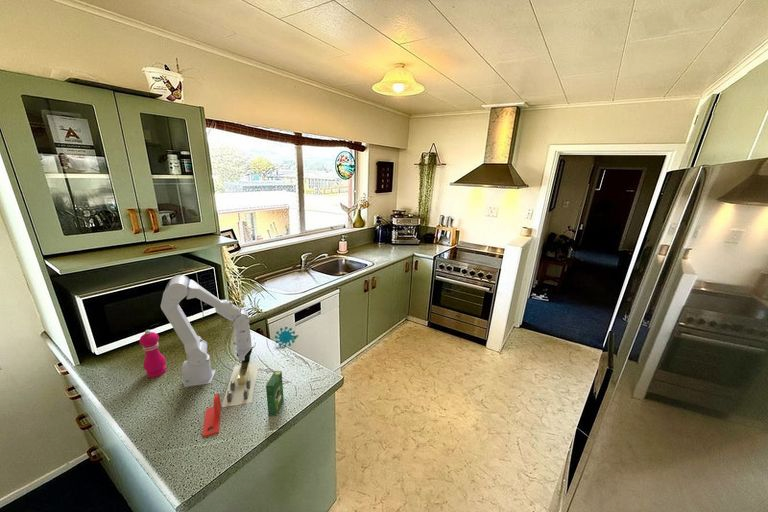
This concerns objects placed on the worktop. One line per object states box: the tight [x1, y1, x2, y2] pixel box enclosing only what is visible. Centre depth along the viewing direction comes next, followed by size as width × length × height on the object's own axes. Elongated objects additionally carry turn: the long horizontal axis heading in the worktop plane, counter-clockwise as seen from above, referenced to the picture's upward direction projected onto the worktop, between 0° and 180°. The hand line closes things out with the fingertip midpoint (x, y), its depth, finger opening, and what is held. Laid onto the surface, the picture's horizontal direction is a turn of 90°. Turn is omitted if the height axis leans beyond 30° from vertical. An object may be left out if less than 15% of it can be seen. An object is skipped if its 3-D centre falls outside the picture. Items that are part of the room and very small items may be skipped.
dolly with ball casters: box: [227, 378, 251, 402], centre depth 110 cm, size 7×8×3 cm
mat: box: [221, 362, 260, 408], centre depth 116 cm, size 10×23×1 cm, turn 15°
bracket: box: [202, 393, 222, 438], centre depth 98 cm, size 12×4×8 cm, turn 25°
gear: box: [274, 326, 299, 348], centre depth 144 cm, size 11×6×10 cm
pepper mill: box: [139, 329, 167, 378], centre depth 117 cm, size 7×7×20 cm
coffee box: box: [265, 370, 285, 417], centre depth 104 cm, size 8×3×13 cm, turn 178°
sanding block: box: [237, 361, 250, 385], centre depth 119 cm, size 3×10×3 cm, turn 16°
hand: (246, 364), depth 125 cm, fingers closed
